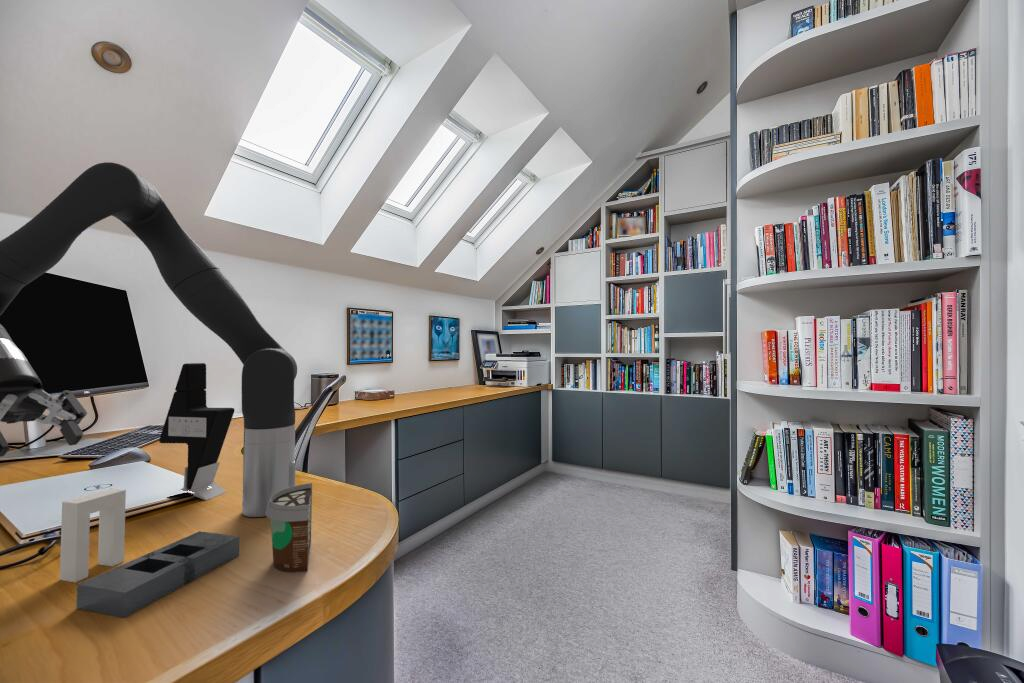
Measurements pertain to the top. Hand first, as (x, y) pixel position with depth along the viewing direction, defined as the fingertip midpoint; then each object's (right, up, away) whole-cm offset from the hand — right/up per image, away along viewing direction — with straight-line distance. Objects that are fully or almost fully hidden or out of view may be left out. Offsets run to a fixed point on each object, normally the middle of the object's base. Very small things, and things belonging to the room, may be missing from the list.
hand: (42, 447), depth 64 cm
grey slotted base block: (+24, -17, -5) cm, 30 cm away
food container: (+38, -18, 0) cm, 42 cm away
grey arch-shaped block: (+11, -18, -3) cm, 21 cm away
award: (+1, -19, +30) cm, 35 cm away
